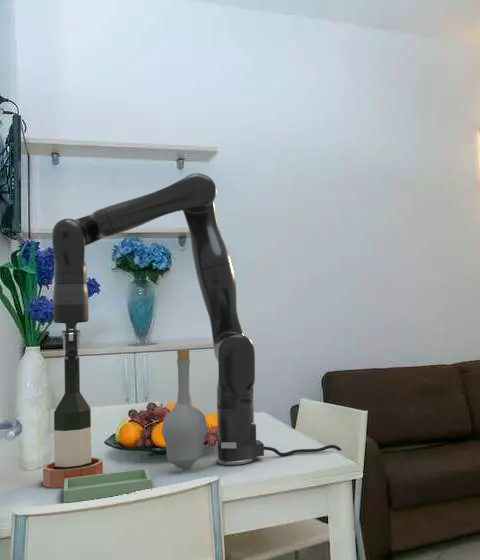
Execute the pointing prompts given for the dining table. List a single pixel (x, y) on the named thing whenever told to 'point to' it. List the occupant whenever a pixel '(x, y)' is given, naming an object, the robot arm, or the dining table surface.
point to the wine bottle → (72, 426)
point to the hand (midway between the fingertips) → (72, 373)
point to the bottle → (184, 422)
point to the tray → (105, 485)
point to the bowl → (69, 473)
